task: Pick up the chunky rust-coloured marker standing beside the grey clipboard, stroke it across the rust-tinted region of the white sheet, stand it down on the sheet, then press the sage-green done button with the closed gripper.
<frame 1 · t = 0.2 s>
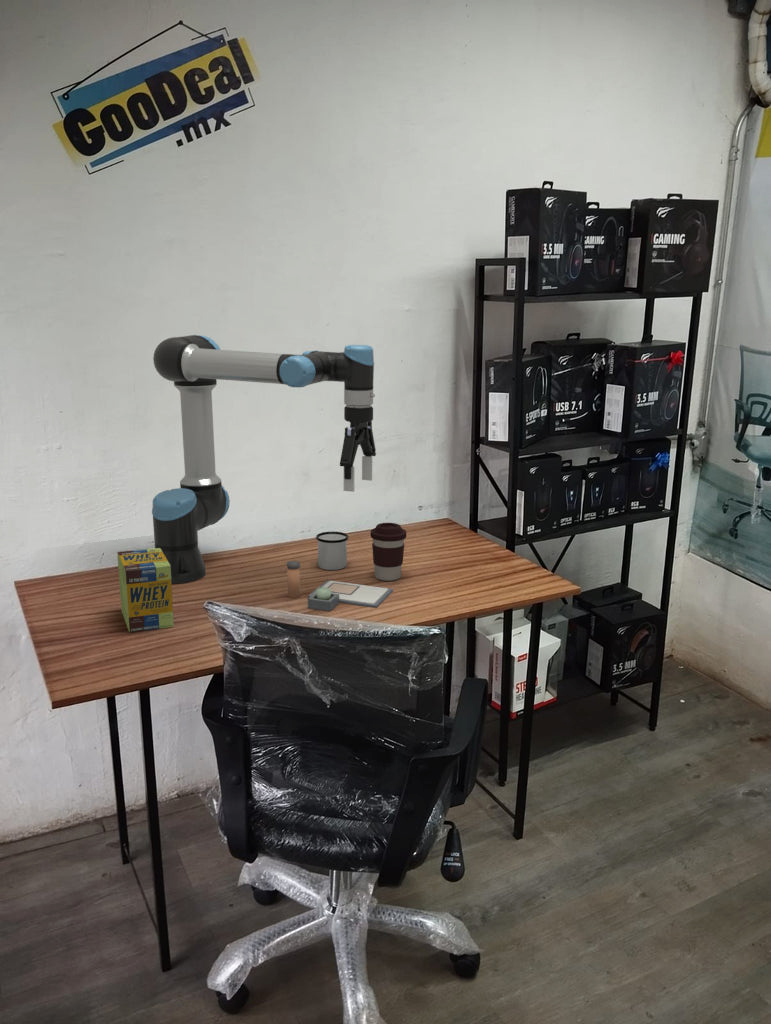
hand: (358, 485, 225), 27 cm above the table, fingers open, 13 cm apart
marker: (293, 596, 222), on the table
done button: (323, 595, 215), point 3 cm above the table, slide at 0.0 cm
mug: (331, 565, 247), on the table
protein box: (147, 619, 206), on the table
coffee cup: (387, 577, 237), on the table
button housing: (323, 605, 215), on the table
picture board: (351, 594, 223), on the table
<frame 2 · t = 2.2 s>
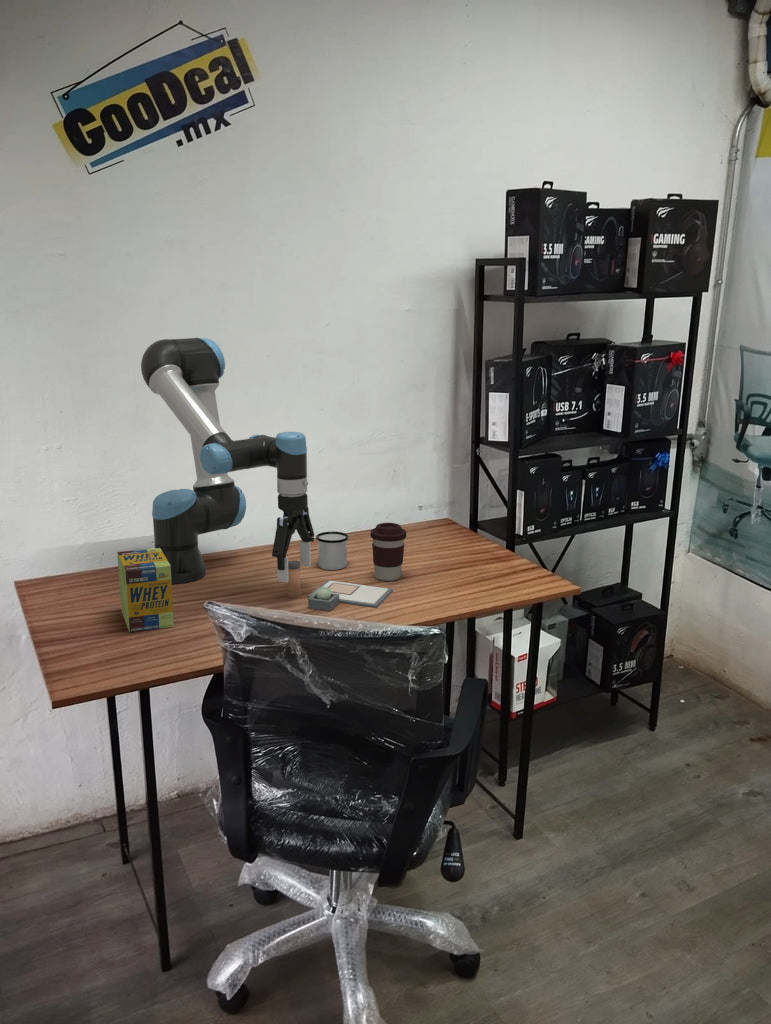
hand: (294, 573, 220), 6 cm above the table, fingers open, 13 cm apart
nothing on the table moved.
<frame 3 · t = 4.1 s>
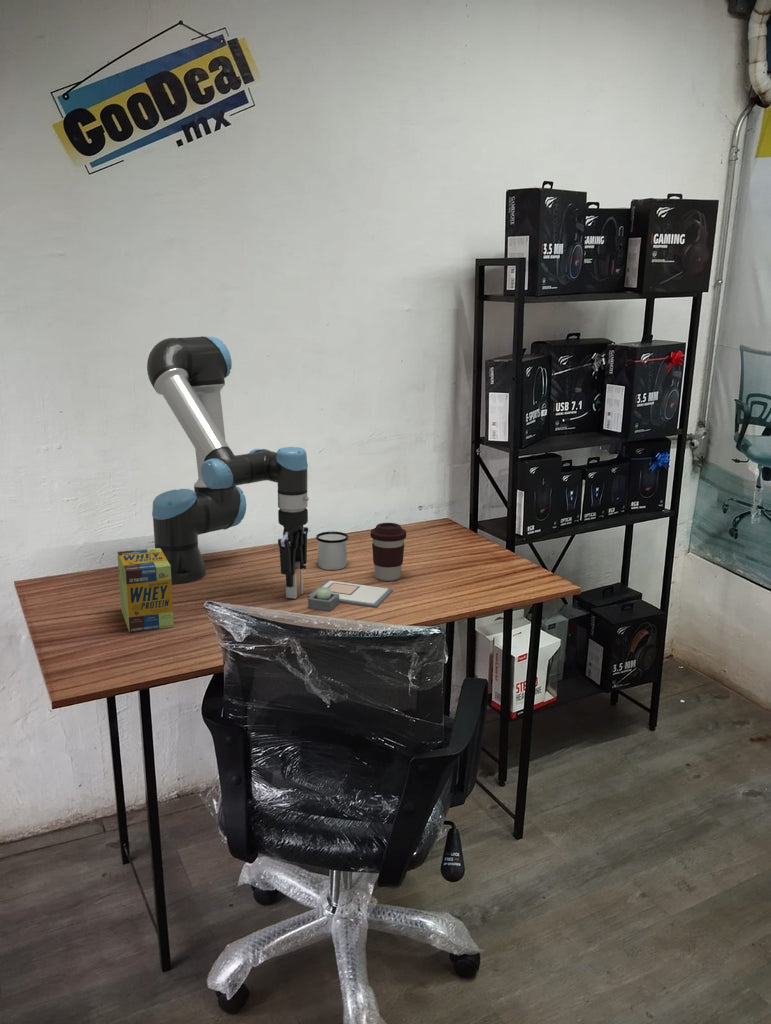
hand: (294, 594, 221), 0 cm above the table, fingers closed on marker, 3 cm apart
marker: (293, 595, 222), on the table, touching gripper
everything else where it was.
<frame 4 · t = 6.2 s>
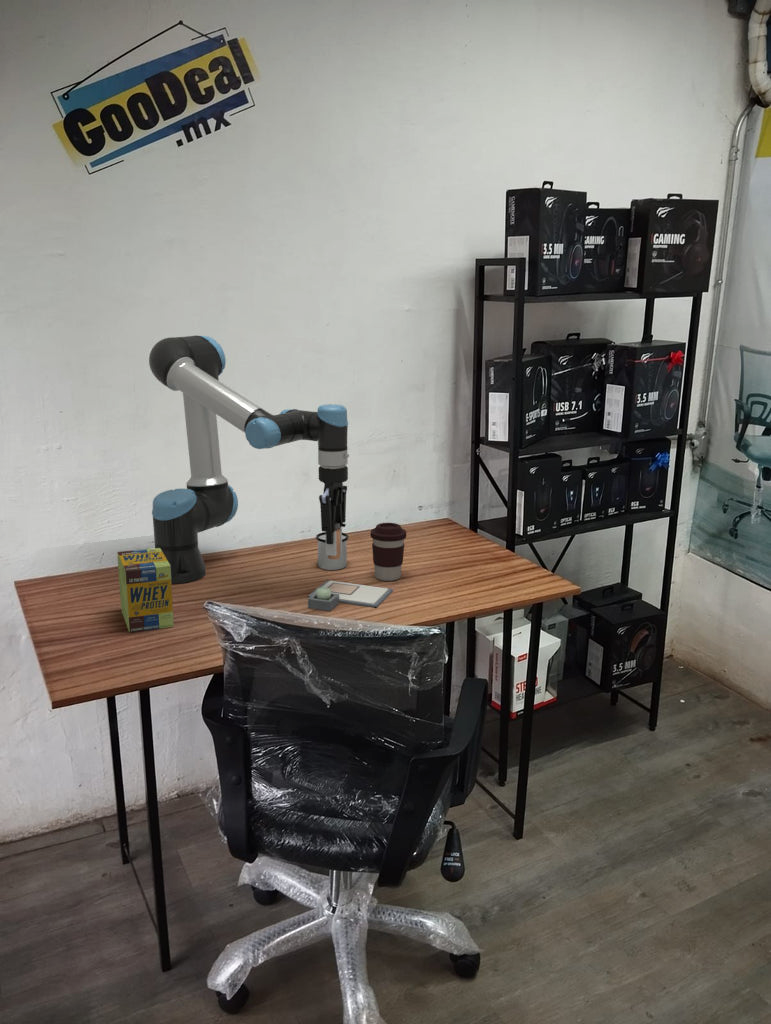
hand: (334, 552, 223), 11 cm above the table, fingers closed on marker, 3 cm apart
marker: (333, 557, 223), point 9 cm above the table, touching gripper
everything else where it was.
when the fingers open (2 cm above the table, at t = 8.5 s): marker stays where it is, resting on picture board.
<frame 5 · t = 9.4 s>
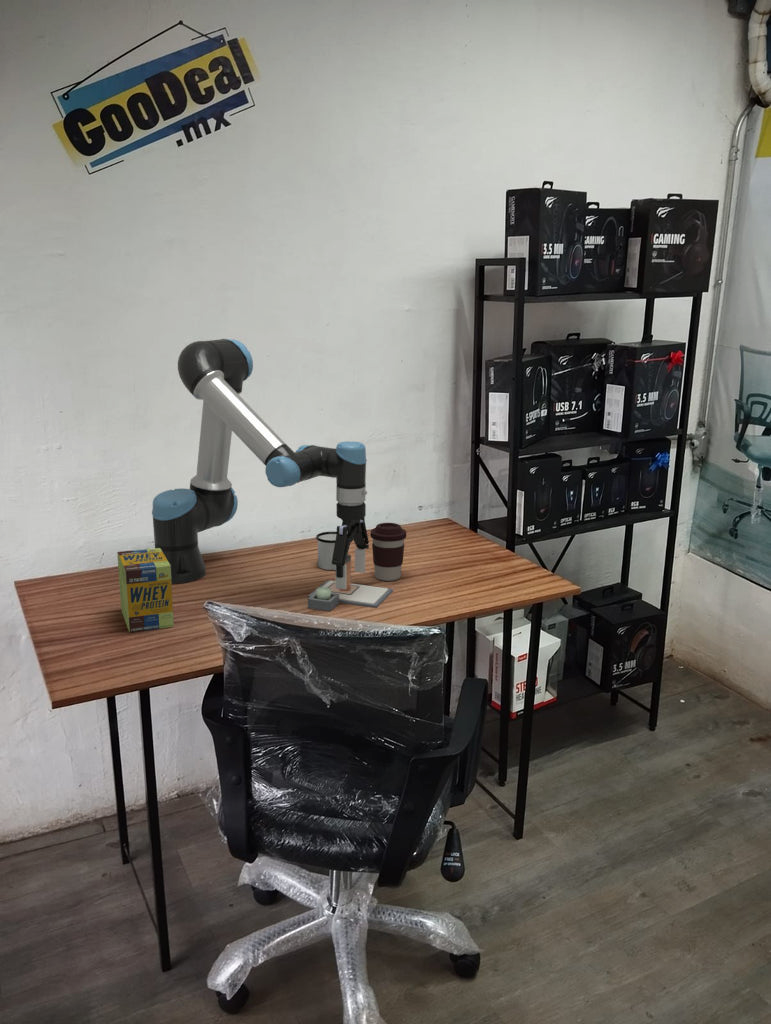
hand: (350, 580, 223), 4 cm above the table, fingers open, 13 cm apart
marker: (344, 588, 225), point 1 cm above the table, touching picture board
everything else where it was.
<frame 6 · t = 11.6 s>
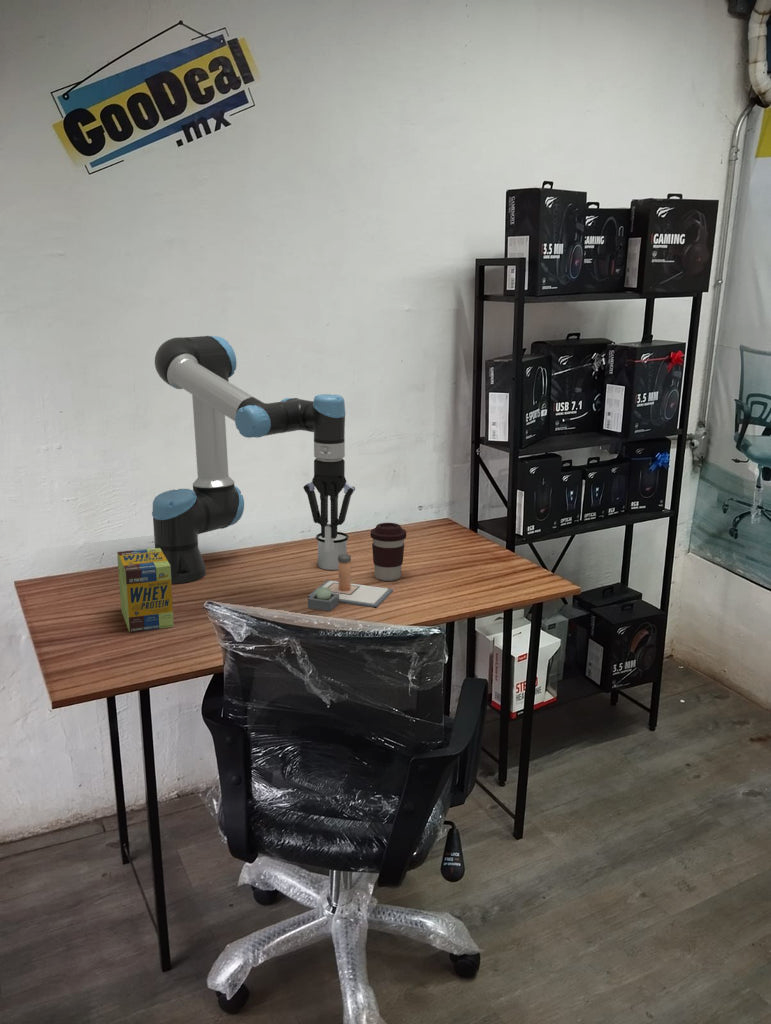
hand: (329, 550, 214), 14 cm above the table, fingers closed
nothing on the table moved.
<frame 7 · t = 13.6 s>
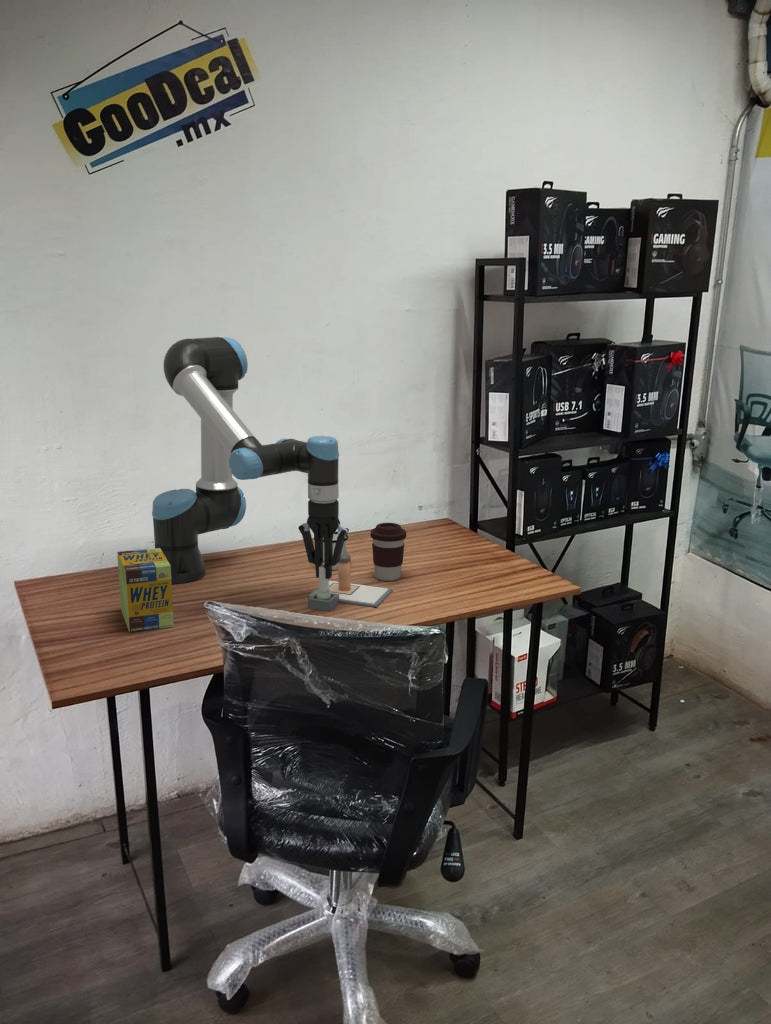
hand: (324, 590, 214), 4 cm above the table, fingers closed
done button: (323, 596, 215), point 2 cm above the table, slide at 0.3 cm, touching gripper
everything else where it was.
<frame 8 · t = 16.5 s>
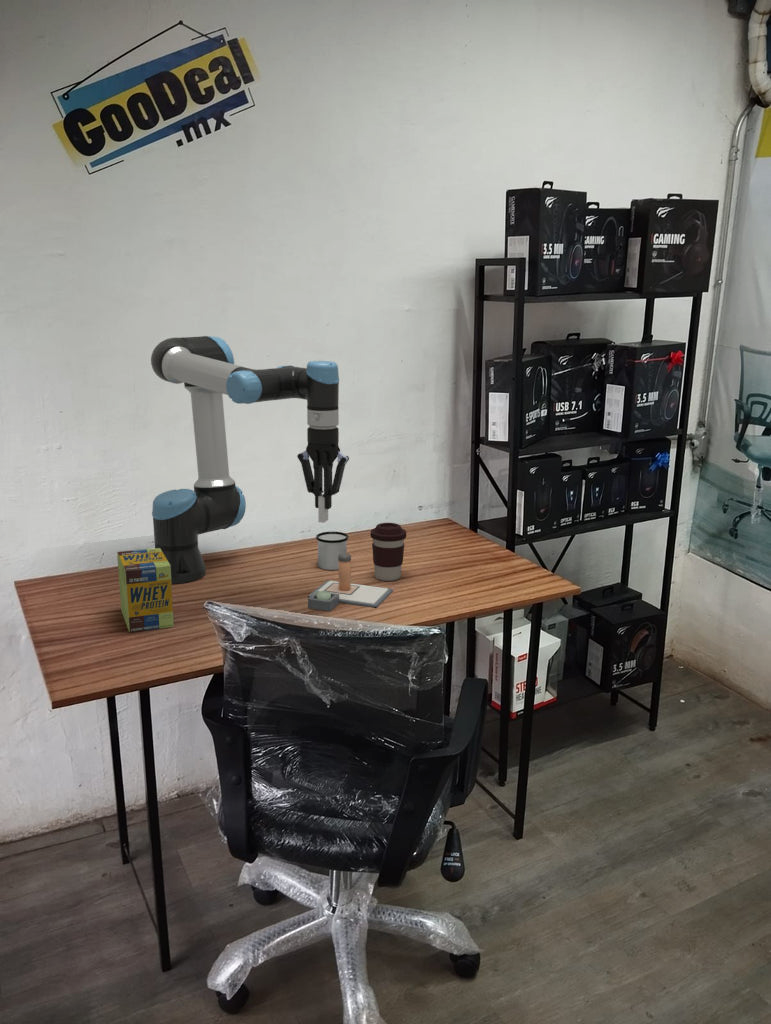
hand: (323, 520, 209), 22 cm above the table, fingers closed
done button: (323, 599, 215), point 2 cm above the table, slide at 1.0 cm
everything else where it was.
at the end: done button slide at 1.0 cm; marker inside the target area on the picture board (2.4 cm from its centre), point 1.0 cm above the picture board's base; the gripper is holding nothing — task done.
